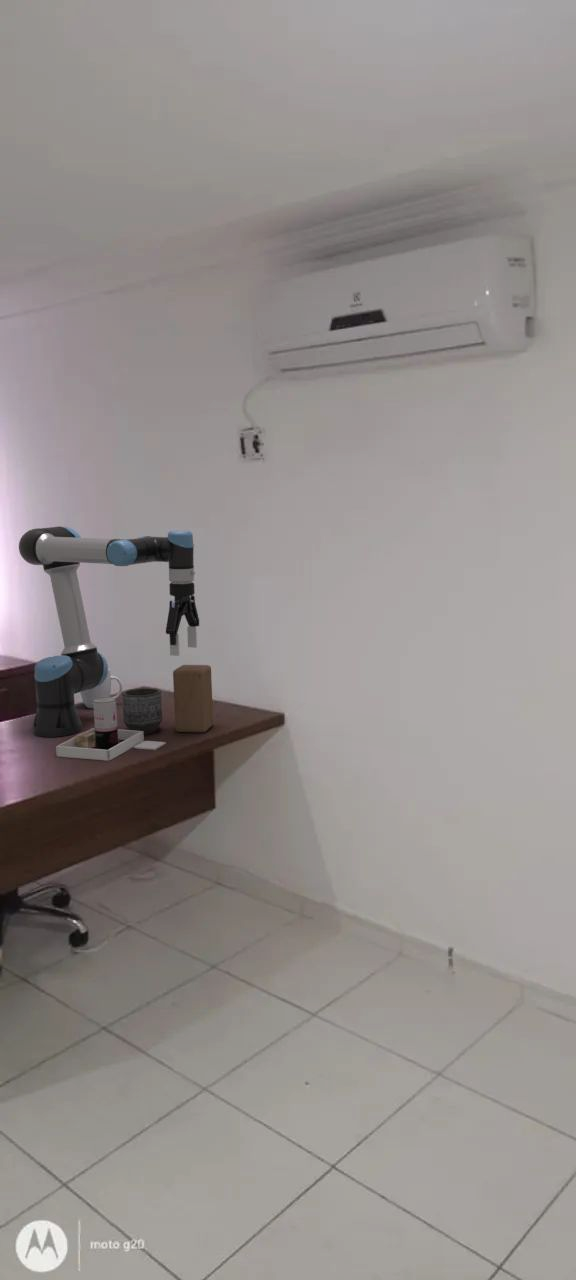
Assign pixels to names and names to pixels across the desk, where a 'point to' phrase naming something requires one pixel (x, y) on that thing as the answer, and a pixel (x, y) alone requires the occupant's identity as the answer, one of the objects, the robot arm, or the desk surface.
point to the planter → (142, 709)
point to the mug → (100, 691)
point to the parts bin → (99, 754)
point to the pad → (150, 745)
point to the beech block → (85, 740)
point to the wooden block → (193, 698)
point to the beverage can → (105, 723)
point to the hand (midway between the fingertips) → (183, 651)
